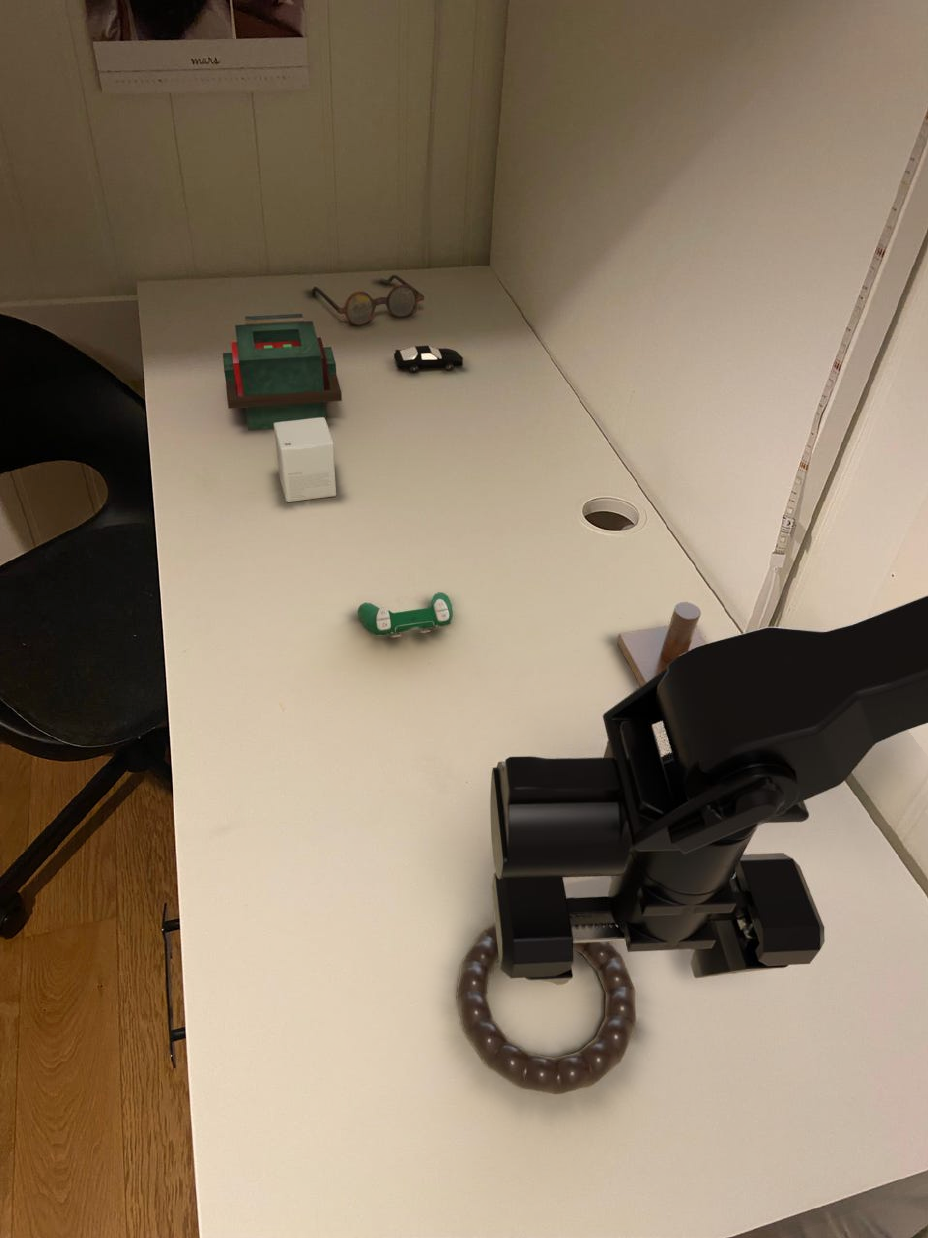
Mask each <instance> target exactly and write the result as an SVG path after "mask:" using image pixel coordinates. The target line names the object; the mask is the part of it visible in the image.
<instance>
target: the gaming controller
mask: <svg viewBox="0 0 928 1238" xmlns="http://www.w3.org/2000/svg"><path fill="white" fill-rule="evenodd" d="M453 613H454V611H453V604H452V602H451V600H450V597H449V596H448V595H447V594H446V593H445V592H439V591H438V592H436V593H434V594H433V596H432V598H431V601H430V605H429V606H428V607H425V608H418V609H412V610H403V611H398V612H397V611H396V612H392V611H391V610H389V609H388V608H387V607H385V606H382V607H380V608H379V607H378V606H376V605H375V604H373V603H371V602H363V603H361V604H360V605H359V606H358V607H357V615H358V617H359V619H360V621H361V623H362V624H363V626H364V628H365V629H366V630H367V631H368V632H369V633H371V634H373V635H374V637H378V636H379V637H380V636H387V635H390V637H391V638H392V639H393V638H398V637H399V638H400V637H402V633H403V632H407V631H415V630H420V631H419V633H420V634H424V633H425V634H427V633H430V632H431V628H438V627H444V626H449V625H450V624H452V619H453V617H454V615H453Z"/></svg>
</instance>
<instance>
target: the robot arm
mask: <svg viewBox="0 0 928 1238" xmlns="http://www.w3.org/2000/svg"><path fill="white" fill-rule="evenodd" d="M602 720H603V724H604V728H605V732H606V736H607V743H606V746H605V751H604V754H603V756H602V757H564V758H563V757H561V758H560V757H559V758H557V757H556V758H554V757H553V758H550V757H541V756H531V755H530V756H529V755H527V756H523V755H522V756H509V757H507V758H506V759H505V760H504V761H498V762H497V765H496V766H495V767H494V766H493V767H492V769H491V779H490V796H489V797H490V799H489V801H490V803H489V807H490V808H489V809H490V811H489V813H490V835H491V850H492V859H493V866H494V872H493V876H492V882H491V895H492V905H493V915H494V923H495V925H496V935H497V945H498V954H499V959H498V962H499V963H498V964H499V969H500V971H501V972H502V973H504V974H505V975H506V976H507V977H509V979H526V980H528V981H541V982H548V983H552V984H554V985H556V986H563V985H565V984H568V982H569V981H571V980H572V979H573V977H574V975H573V970H572V967H573V964H574V949H573V943H592V942H610V943H612V942H625V946H626V950H627V953H636V952H657V951H680V950H693V953H692V957H691V960H690V967H691V970H692V973H693V977H694V978H695V979H704V978H710V977H717V976H725V975H732V974H733V975H734V974H741V973H750V972H758V971H767V970H776V969H777V970H778V969H785V968H787V967H789V966H795V965H810V964H811V963H812V962H813V960H814V959H815V958H816V956H817V955H818V954H819V952H820V951H821V949H822V948H823V945H824V944H825V939H826V937H825V925H824V922H823V920H822V918H821V915H820V913H819V910H818V908H817V905H816V903H815V901H814V898H813V896H812V893H811V890H810V888H809V885H808V882H807V880H806V877H805V875H804V874H803V870H802V868H801V866H800V864H798V862H797V861H796V860H795V859H794V858H793V857H791V856H789V855H787V854H785V853H783V852H776V853H775V852H773V853H746V854H745V851H746V849H747V847H748V846H749V845H750V842H751V840H752V838H753V836H754V834H755V832H756V830H757V829H758V828H759V826H761V825H764V824H777V823H781V824H782V823H803V822H805V821H807V820H808V819H809V818H810V812H809V811H808V809H807V808H808V807H807V805H806V804H805V801H807V800H809V799H811V798H814V797H815V796H818V795H821V794H823V793H826V792H828V791H830V790H832V789H835V788H837V787H839V786H840V785H842V784H843V783H844V782H845V781H846V779H847V778H848V777H849V776H850V774H852V773H853V771H854V770H855V769H856V767H857V766H858V765H859V764H860V763H861V761H862V760H863V759H865V757H866V756H867V754H868V753H869V752H870V751H871V749H872V748H873V747H874V746H875V745H876V744H878V743H880V742H882V741H885V740H888V739H889V738H891V737H893V736H896V735H899V734H901V733H903V732H905V731H909V730H911V729H912V730H913V729H915V728H917V727H920V726H923V725H926V724H928V594H927V595H924V596H922V597H919V598H917V599H914V600H911V601H908V602H906V603H903V604H901V605H898V606H896V607H893V608H890V609H887V610H885V611H883V612H881V613H877V614H875V615H873V616H870V617H867V618H864V619H862V620H859V621H857V622H854V623H851V624H848V625H844V626H840V627H837V628H833V629H829V630H826V631H819V630H810V629H801V628H789V627H779V626H766V627H761V628H759V629H754V630H750V631H747V632H744V633H740V634H736V635H733V636H729V637H726V638H722V639H718V640H714V641H710V642H707V643H706V644H703V645H700V646H697V647H695V648H693V649H691V650H689V651H687V652H685V653H683V654H681V655H680V656H678V657H677V658H676V659H674V660H673V661H672V662H671V663H669V664H668V666H667V668H666V669H665V670H663V671H662V672H661V673H659V674H658V675H657V676H655V677H654V678H652V679H651V680H650V681H648V682H647V683H646V684H644V685H643V686H640V687H638V688H637V689H636V690H634V691H633V692H632V693H631V694H629V695H627V696H626V697H624V699H622V700H621V701H619V702H617V704H615V705H614V706H613V707H611V708H610V709H608V710H607V711H605V712H604V713H603V715H602ZM660 722H662V724H663V728H664V730H665V734H666V737H667V741H668V744H669V748H670V750H671V752H668V753H666V754H665V755H663V756H662V754H661V751H660V747H659V743H658V740H657V736H656V733H655V729H654V725H655V724H657V723H660ZM591 877H592V878H595V877H611V880H610V881H611V882H610V884H609V887H608V892H607V896H581V897H567V895H566V888H565V883H564V878H591ZM589 926H591V928H590V927H589ZM576 927H578V929H577V928H576ZM583 927H585V928H583Z"/></svg>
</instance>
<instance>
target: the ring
mask: <svg viewBox="0 0 928 1238" xmlns="http://www.w3.org/2000/svg"><path fill="white" fill-rule="evenodd" d="M589 927H590V928H591V926H589ZM576 928H577V929H578V927H576ZM583 928H585V927H583ZM574 950H575V951H576V952H578V953H580V954H581V955H582V956H583V957H584V958H585V959H586V960H587V962H588V963H589V964H590V965H591V967H592V968H593V970H595V971H596V973H597V974H598V977H599V980H600V982H601V985H602V989H603V991H604V994H605V1004H604V1006H605V1008H604V1009H605V1010H604V1019H603V1021H602V1023H601V1025H600V1028H599V1030H598V1032H597V1034H596V1036H595V1038H593V1039H592V1040H591V1041H590V1042H589V1043H588V1044H586V1045H585V1046H584V1047H583V1048H582V1049H580V1050H578V1051H577V1052H574V1053H570V1054H566V1055H562V1056H559V1057H558V1056H557V1057H550V1056H546V1055H539V1054H533V1053H529V1052H528V1051H526V1050H524V1049H523V1048H522V1047H520V1046H519V1045H517V1044H516V1043H514V1042H512V1041H511V1040H510V1039H508V1038H507V1036H506V1035H505V1034H504V1032H503V1031H502V1029H501V1028H500V1027H499V1026H498V1024H497V1023H496V1021H495V1020H494V1018H493V1015H492V1011H491V1007H490V1003H489V999H488V989H489V981H490V974H491V972H492V971H493V969H494V967H495V966H496V964H497V962H498V961H499V954H498V945H497V935H496V925H495V922H494V923H492V924H491V925H489V926H488V927H487V928H485V929H484V930H482V931H481V932H480V933H479V934H478V935H477V937H476V938H475V939H474V942H473V944H472V946H471V947H470V948H469V950H468V952H467V953H466V955H465V957H464V958H463V959H462V961H461V966H460V971H459V978H458V985H457V991H456V1002H457V1006H458V1010H459V1014H460V1019H461V1023H462V1027H463V1031H464V1034H465V1036H466V1038H467V1039H468V1041H469V1042H470V1043H471V1045H472V1047H473V1049H474V1050H475V1051H476V1053H477V1054H478V1055H479V1057H480V1058H481V1060H482V1061H483V1063H484V1064H485V1065H486V1066H487V1067H488V1068H489V1069H491V1071H494V1072H495V1073H496V1074H498V1075H499V1076H501V1077H503V1078H504V1079H506V1080H507V1081H509V1082H510V1083H511V1084H513V1085H514V1086H516V1087H518V1088H520V1089H523V1090H529V1091H534V1092H540V1093H545V1094H551V1095H562V1094H567V1093H570V1092H574V1091H578V1090H581V1089H585V1088H589V1087H592V1086H594V1085H596V1084H597V1083H598V1082H599V1081H601V1080H602V1079H603V1078H604V1077H605V1076H606V1075H607V1074H608V1073H610V1072H611V1071H612V1070H613V1069H614V1068H615V1067H617V1066H618V1065H619V1064H620V1063H621V1061H622V1060H623V1058H624V1056H625V1054H626V1051H627V1049H628V1047H629V1045H630V1042H631V1041H632V1037H633V1035H634V1033H635V1030H636V1025H637V1023H636V1022H637V1021H636V1020H637V1017H636V1013H637V1012H636V1011H637V1010H636V1009H637V1007H636V1003H637V1002H636V1001H637V999H636V998H637V996H636V995H637V994H636V988H635V986H634V982H633V980H632V978H631V976H630V975H631V974H630V973H629V970H628V968H627V965H626V962H625V960H624V958H623V956H622V954H620V952H619V951H618V950H617V948H615V947H614V945H612V942H592V943H573V951H574Z"/></svg>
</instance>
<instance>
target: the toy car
mask: <svg viewBox="0 0 928 1238" xmlns="http://www.w3.org/2000/svg"><path fill="white" fill-rule="evenodd" d="M393 358H394V361H395V364H396V366H397V369H399V370H407V371H409V372H410V373H411V374H416V373H417V374H418V373H419V370H420V371H424V370H425V371H426V370H442V369H443V370H444V369H445V370H446V371H447V372H451V371H453V370H454V368H455V367H463V366H464V363H463V362H464V358H463V356H461V354H460V353H459V352H458V351H457V350H454V349H452V348H445V347H444V348H443V347H442V348H435V347H433V346H430V345H417V346H416V345H415V346H412V347H409V348H406V349H395V352H394V353H393Z"/></svg>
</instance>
